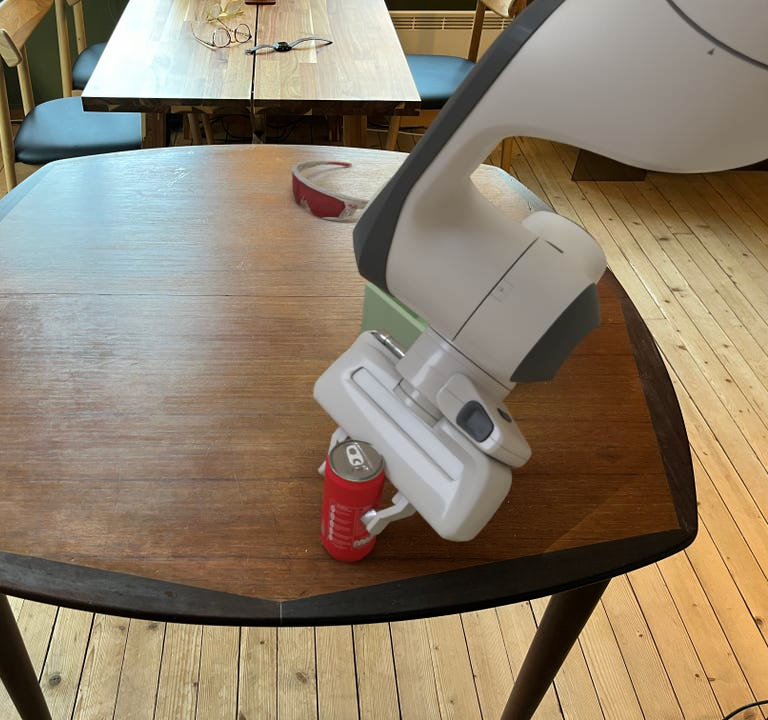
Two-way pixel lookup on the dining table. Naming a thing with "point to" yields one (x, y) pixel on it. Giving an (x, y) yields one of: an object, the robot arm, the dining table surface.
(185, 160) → the dining table surface
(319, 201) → the sunglasses
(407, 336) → the bin
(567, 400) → the dining table surface
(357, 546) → the beverage can
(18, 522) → the dining table surface
